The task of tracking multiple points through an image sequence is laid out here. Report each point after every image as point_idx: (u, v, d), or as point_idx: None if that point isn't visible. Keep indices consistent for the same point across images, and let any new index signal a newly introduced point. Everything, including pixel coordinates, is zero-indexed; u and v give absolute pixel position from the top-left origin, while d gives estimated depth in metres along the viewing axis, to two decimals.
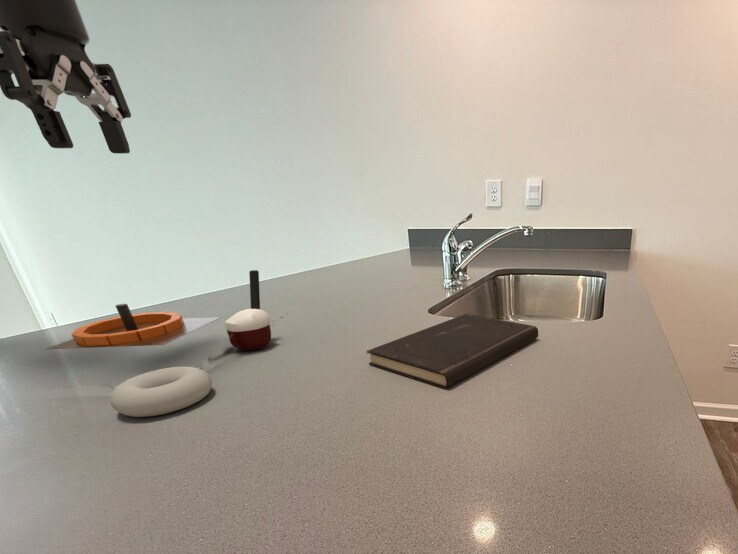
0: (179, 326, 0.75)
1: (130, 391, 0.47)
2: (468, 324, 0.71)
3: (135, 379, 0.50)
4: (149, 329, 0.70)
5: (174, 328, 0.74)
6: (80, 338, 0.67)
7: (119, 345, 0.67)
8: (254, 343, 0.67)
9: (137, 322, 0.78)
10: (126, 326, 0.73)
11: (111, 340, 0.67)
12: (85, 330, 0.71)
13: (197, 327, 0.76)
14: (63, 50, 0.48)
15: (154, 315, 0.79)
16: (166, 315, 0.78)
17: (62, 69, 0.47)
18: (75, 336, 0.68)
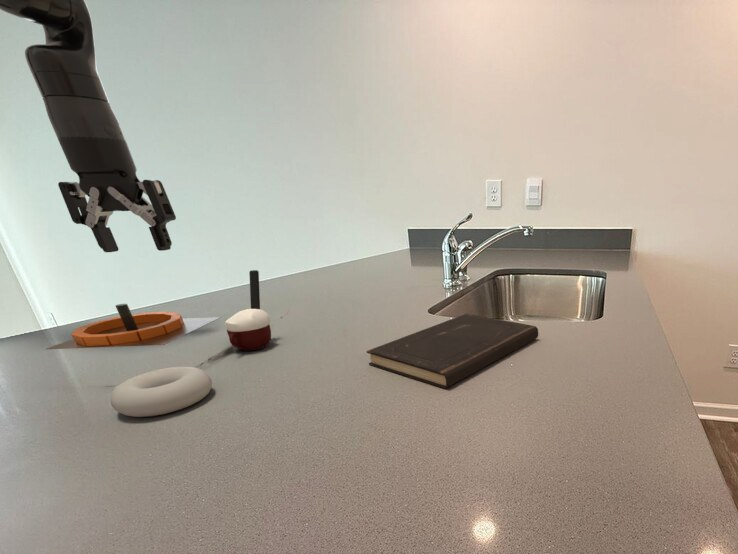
0: (179, 326, 0.75)
1: (130, 391, 0.47)
2: (468, 324, 0.71)
3: (135, 379, 0.50)
4: (149, 329, 0.70)
5: (174, 328, 0.74)
6: (80, 338, 0.67)
7: (119, 345, 0.67)
8: (254, 343, 0.67)
9: (137, 322, 0.78)
10: (126, 326, 0.73)
11: (111, 340, 0.67)
12: (85, 330, 0.71)
13: (197, 327, 0.76)
14: (104, 181, 0.62)
15: (154, 315, 0.79)
16: (166, 315, 0.78)
17: (93, 198, 0.62)
18: (75, 336, 0.68)
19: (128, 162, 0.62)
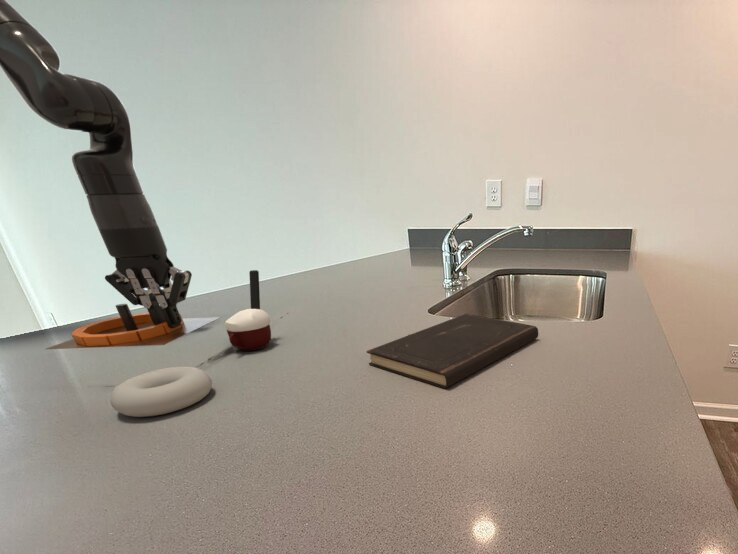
0: (179, 326, 0.75)
1: (130, 391, 0.47)
2: (468, 324, 0.71)
3: (135, 379, 0.50)
4: (149, 329, 0.70)
5: (174, 328, 0.74)
6: (80, 338, 0.67)
7: (119, 345, 0.67)
8: (254, 343, 0.67)
9: (137, 322, 0.78)
10: (126, 326, 0.73)
11: (111, 340, 0.67)
12: (85, 330, 0.71)
13: (197, 327, 0.76)
14: (138, 263, 0.68)
15: None
16: None
17: (133, 279, 0.68)
18: (75, 336, 0.68)
19: (160, 245, 0.68)
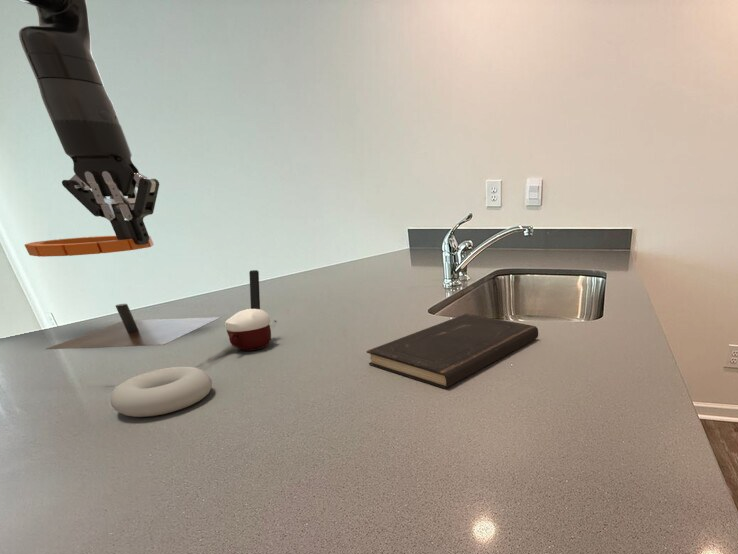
0: (147, 245, 0.69)
1: (130, 391, 0.47)
2: (468, 324, 0.71)
3: (135, 379, 0.50)
4: (111, 242, 0.64)
5: (141, 246, 0.68)
6: (33, 247, 0.60)
7: (119, 345, 0.67)
8: (254, 343, 0.67)
9: None
10: (126, 326, 0.73)
11: (68, 250, 0.61)
12: (41, 243, 0.64)
13: (197, 327, 0.76)
14: (99, 165, 0.62)
15: None
16: None
17: (93, 184, 0.62)
18: (28, 246, 0.61)
19: (123, 147, 0.62)
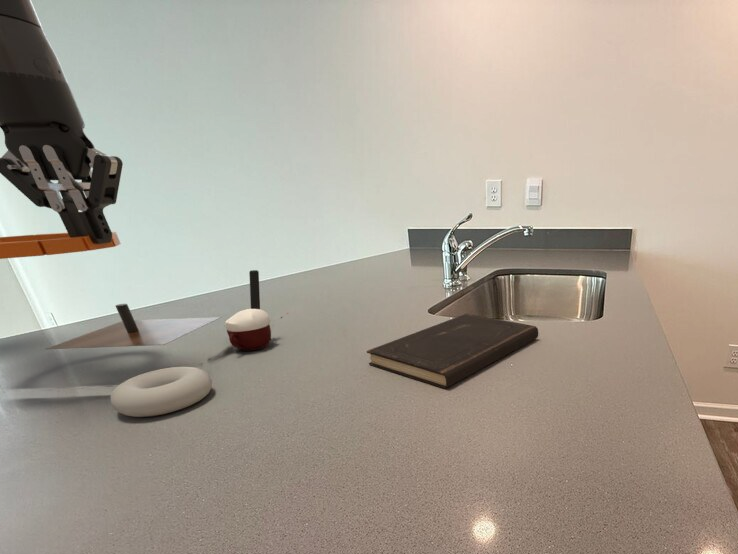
0: (110, 245, 0.53)
1: (130, 391, 0.47)
2: (468, 324, 0.71)
3: (135, 379, 0.50)
4: (59, 240, 0.48)
5: (102, 245, 0.52)
6: None
7: (119, 345, 0.67)
8: (254, 343, 0.67)
9: None
10: (126, 326, 0.73)
11: None
12: None
13: (197, 327, 0.76)
14: (39, 138, 0.46)
15: None
16: None
17: (31, 163, 0.46)
18: None
19: (71, 112, 0.46)
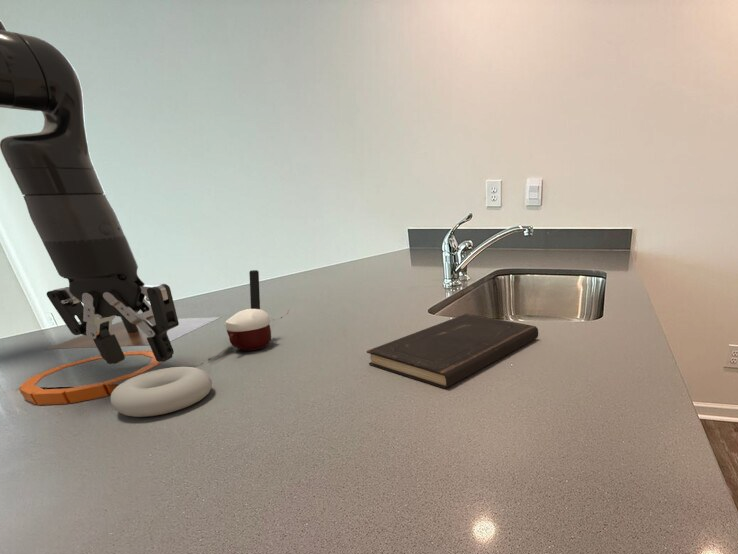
0: None
1: (130, 391, 0.47)
2: (468, 324, 0.71)
3: (135, 379, 0.50)
4: (120, 380, 0.55)
5: None
6: (29, 395, 0.51)
7: None
8: (254, 343, 0.67)
9: None
10: (126, 326, 0.73)
11: (69, 397, 0.52)
12: None
13: (197, 327, 0.76)
14: (99, 284, 0.52)
15: None
16: None
17: (88, 305, 0.52)
18: (23, 392, 0.52)
19: (128, 262, 0.52)
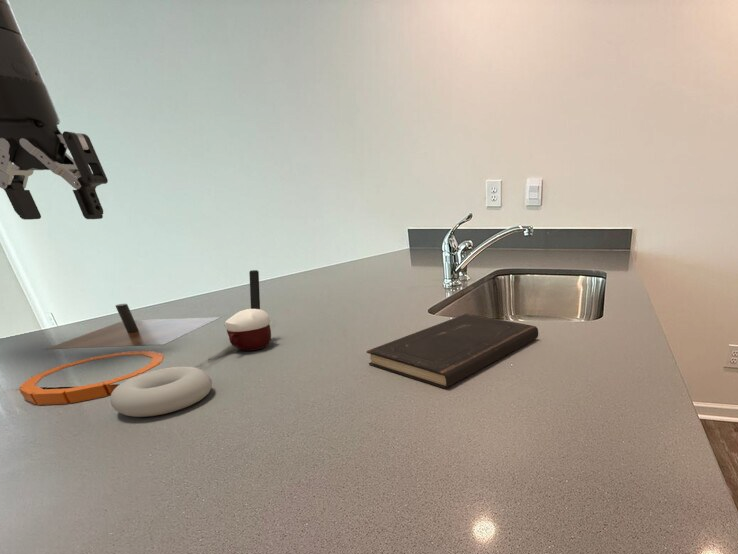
0: None
1: (130, 391, 0.47)
2: (468, 324, 0.71)
3: (135, 379, 0.50)
4: (120, 380, 0.55)
5: None
6: (29, 395, 0.51)
7: (119, 345, 0.67)
8: (254, 343, 0.67)
9: None
10: (126, 326, 0.73)
11: (69, 397, 0.52)
12: None
13: (197, 327, 0.76)
14: (16, 131, 0.51)
15: None
16: None
17: (3, 151, 0.52)
18: (23, 392, 0.52)
19: (46, 110, 0.52)
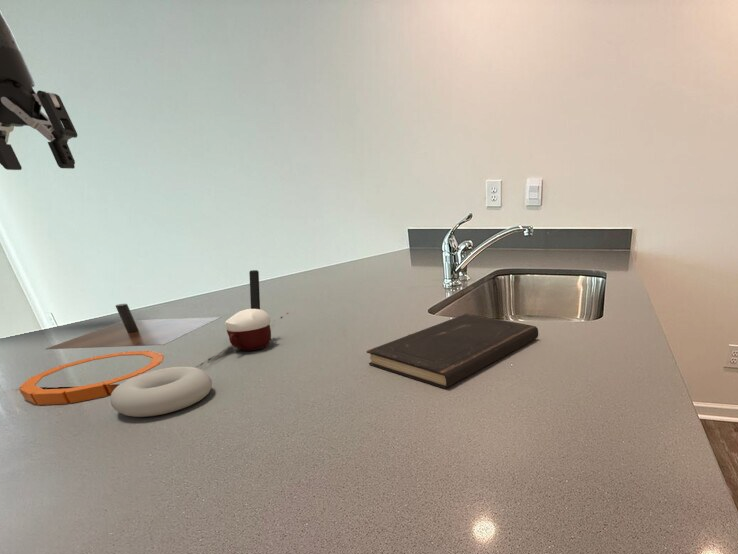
0: None
1: (130, 391, 0.47)
2: (468, 324, 0.71)
3: (135, 379, 0.50)
4: (120, 380, 0.55)
5: None
6: (29, 395, 0.51)
7: (119, 345, 0.67)
8: (254, 343, 0.67)
9: None
10: (126, 326, 0.73)
11: (69, 397, 0.52)
12: None
13: (197, 327, 0.76)
14: None
15: None
16: None
17: None
18: (23, 392, 0.52)
19: (22, 73, 0.62)
